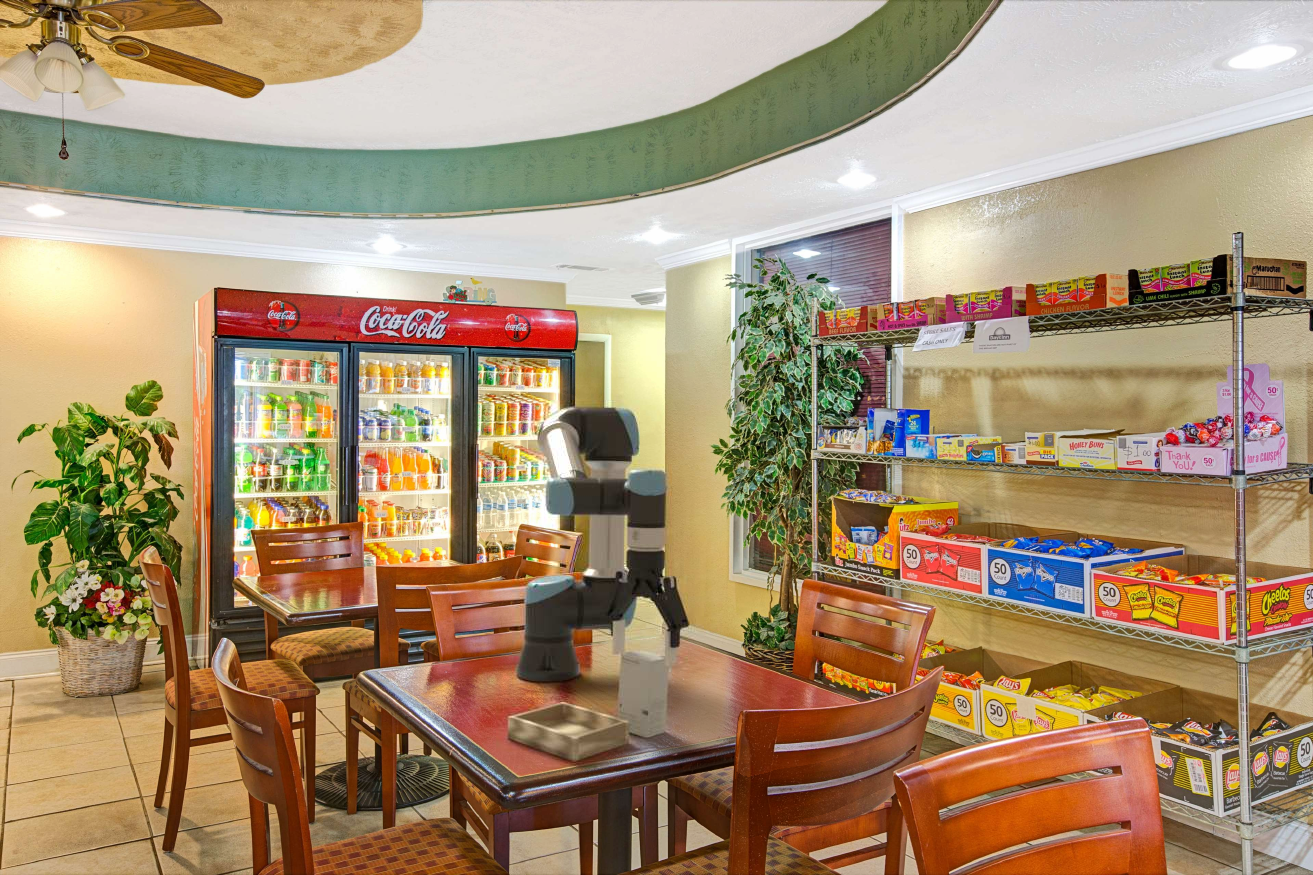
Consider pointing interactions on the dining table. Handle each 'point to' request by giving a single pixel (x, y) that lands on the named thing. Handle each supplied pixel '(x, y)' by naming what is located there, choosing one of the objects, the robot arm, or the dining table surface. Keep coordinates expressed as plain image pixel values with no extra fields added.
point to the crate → (568, 730)
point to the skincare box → (643, 692)
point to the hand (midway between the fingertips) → (644, 658)
